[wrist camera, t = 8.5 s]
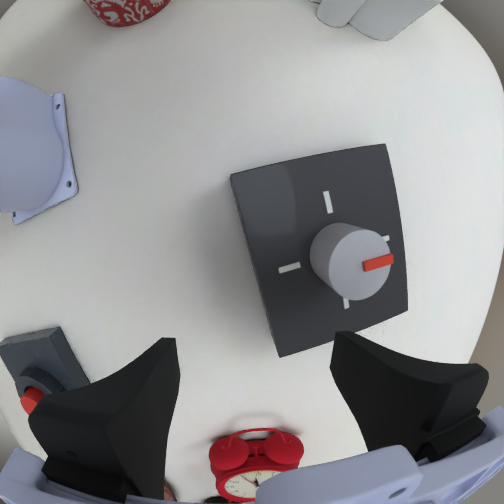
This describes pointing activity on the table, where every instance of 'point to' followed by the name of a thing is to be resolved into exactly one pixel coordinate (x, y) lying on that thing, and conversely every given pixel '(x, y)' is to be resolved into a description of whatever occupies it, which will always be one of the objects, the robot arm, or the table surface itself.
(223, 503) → the beverage can
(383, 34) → the vase
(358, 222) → the panel
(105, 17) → the mug
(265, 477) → the alarm clock
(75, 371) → the button box
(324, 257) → the knob
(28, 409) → the button
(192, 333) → the table surface
